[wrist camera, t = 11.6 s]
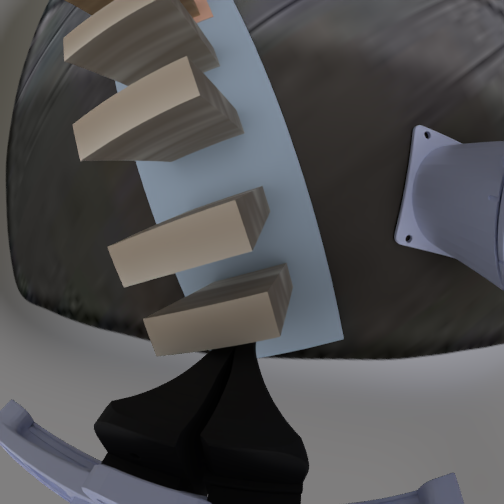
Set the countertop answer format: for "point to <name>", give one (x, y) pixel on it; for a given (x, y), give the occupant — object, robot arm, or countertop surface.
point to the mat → (249, 177)
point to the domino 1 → (92, 3)
